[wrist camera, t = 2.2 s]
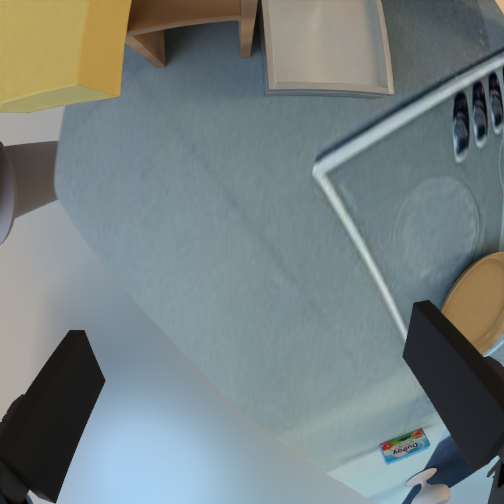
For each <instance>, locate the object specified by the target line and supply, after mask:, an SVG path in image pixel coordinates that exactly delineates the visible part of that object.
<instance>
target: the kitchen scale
mask: <svg viewBox="0 0 504 504" xmlns="http://www.w3.org/2000/svg"><path fill="white" fill-rule="evenodd" d="M257 6H258V17H259V29H260V40H261V53H262V65H263V78H264V92H265V96H337V97H356V98H370V99H377V98H381V97H385V96H390V95H394V86H393V76H392V66H391V58H390V50H389V43H388V36H387V30H386V24H385V18H384V13H383V8H382V3H381V0H258V2H257Z"/></svg>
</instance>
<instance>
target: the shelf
mask: <svg viewBox="0 0 504 504" xmlns="http://www.w3.org/2000/svg"><path fill="white" fill-rule="evenodd" d="M257 2H258V0H131V6H130V12H129V18H128V24H127V31H126V38H125V43H126V44H127V45H129V46H130V47H131V48H132V49H134V50H135V51H136V52H137V53H139V54H140V55H141V56H142V57H144V58H145V59H146V60H147V61H149V62H150V63H151V64H152V65H154V66H155V67H156V68H161V67H165V38H164V29H169V28H175V27H181V26H188V25H195V24H203V23H212V22H222V21H235V20H238V28H239V42H240V56H241V58H247V57H250V54H251V46H252V39H253V31H254V24H255V16H256V9H257Z"/></svg>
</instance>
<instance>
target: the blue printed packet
mask: <svg viewBox="0 0 504 504" xmlns="http://www.w3.org/2000/svg"><path fill="white" fill-rule="evenodd" d="M429 446H430V443H429V441H428V439H427V437H426V435H425V433H424V431H423V429H418V430H416V431H413V432H411V433H408V434H406V435H403V436H401V437H398V438H396V439H393V440H390V441H387V442H385V443H382V444H380V450H381V453H382V456H383V458H384V461H385V463H386V464H387V465H388V464H390V463H393V462H396V461H399V460H401V459H404V458H406V457H409V456H411V455H414V454H416V453H418V452H421V451H423V450H425V449H428V448H429Z"/></svg>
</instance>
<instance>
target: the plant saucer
mask: <svg viewBox="0 0 504 504" xmlns="http://www.w3.org/2000/svg"><path fill="white" fill-rule="evenodd" d="M440 311H441V312H442V313H443V315H444V316H445V317H446V318H447V319H448V320H449V321H450V322H451V323H452V324H453V325H454V326H455V327H456V328H457V329H458V330H459V331H460V332H461V333H462V334H463V335H464V336H465V337H466V338H467V339H468V341H469V342H470V343H471V344H472V345H473V346H474V347H475V348H476V349H477V350H478V351H479V352H480V354H481V355H483V354H484V353H486V352H487V351H488V350H489V349H490V348H491V347H492V346H493V345H494V344H495V343H496V342H497V341H498V340H499V339H500V338H501V336H502V335H503V334H504V252H495V253H491V254H488V255H486V256H484V257H482V258H480V259H478V260H477V261H475V262H474V263H473V264H472V265H470V266H469V267H468V268H467V269H466V270H465V271H464V272H463V273H462V274H461V275H460V277H459V278H458V279H457V280H456V282H455V283H454V284H453V286H452V287H451V289H450V291H449V292H448V294H447V296H446V298H445V300H444V302H443V304H442V307H441V310H440Z"/></svg>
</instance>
